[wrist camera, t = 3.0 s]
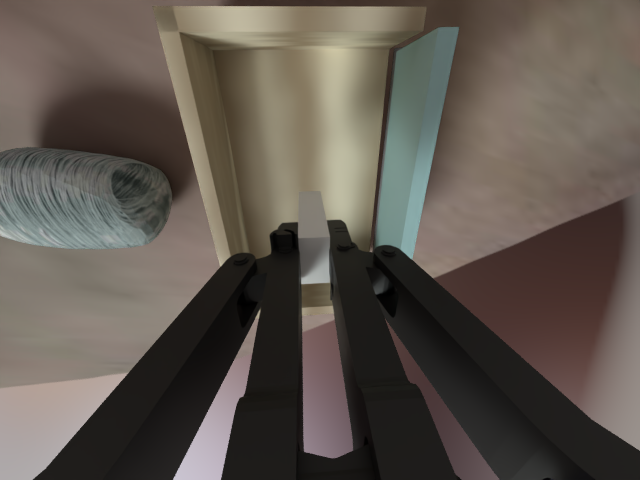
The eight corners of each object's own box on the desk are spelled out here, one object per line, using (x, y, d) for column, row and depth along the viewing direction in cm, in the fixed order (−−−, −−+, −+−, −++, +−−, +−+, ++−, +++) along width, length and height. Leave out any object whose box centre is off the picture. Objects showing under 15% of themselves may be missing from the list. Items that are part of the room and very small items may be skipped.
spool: (169, 139, 21) (72, 233, 15) (201, 213, 29) (145, 292, 23) (19, 98, 21) (-128, 174, 16) (90, 181, 29) (10, 252, 24)
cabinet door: (370, 262, 29) (387, 318, 22) (392, 50, 19) (437, 22, 12) (380, 262, 29) (401, 318, 22) (407, 50, 19) (462, 21, 12)
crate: (250, 264, 31) (234, 319, 23) (208, 40, 20) (152, 6, 12) (361, 258, 32) (381, 310, 24) (379, 39, 21) (426, 6, 13)
